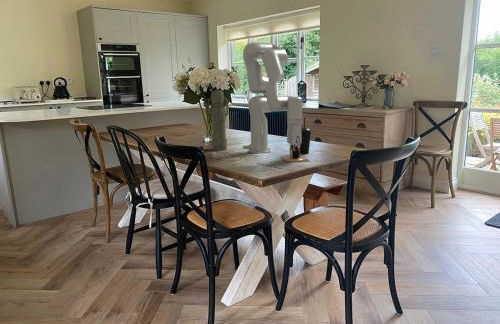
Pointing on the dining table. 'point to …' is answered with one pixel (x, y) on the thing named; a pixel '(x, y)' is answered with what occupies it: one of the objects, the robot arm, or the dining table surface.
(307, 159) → the mat
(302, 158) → the lid
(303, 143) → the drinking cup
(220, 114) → the thermos
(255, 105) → the robot arm
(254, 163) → the dining table surface
